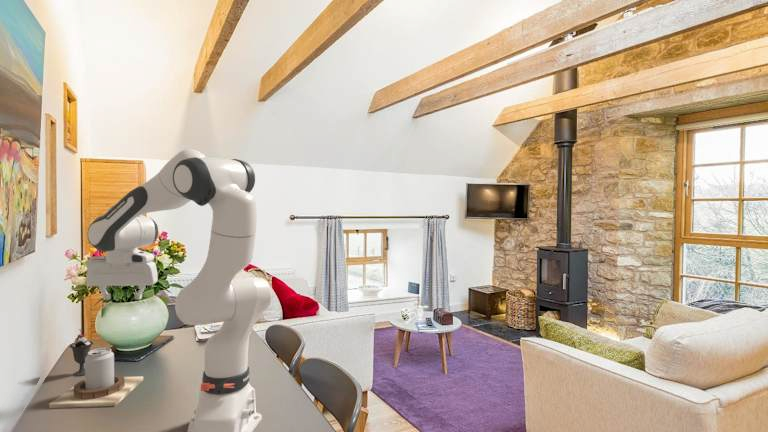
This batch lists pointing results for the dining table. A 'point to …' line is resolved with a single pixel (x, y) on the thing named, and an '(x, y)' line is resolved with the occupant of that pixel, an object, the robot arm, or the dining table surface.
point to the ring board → (97, 401)
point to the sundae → (80, 352)
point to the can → (99, 369)
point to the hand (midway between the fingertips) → (122, 299)
